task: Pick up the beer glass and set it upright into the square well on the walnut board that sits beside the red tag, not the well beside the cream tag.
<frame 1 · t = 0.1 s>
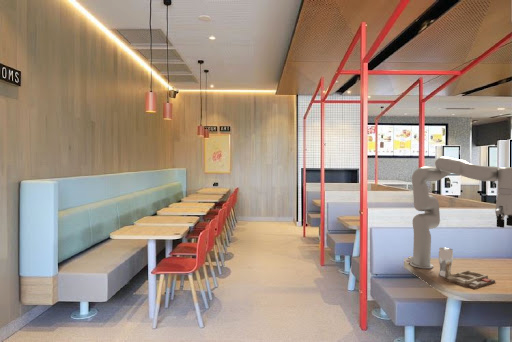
hand: (505, 226, 180), 31 cm above the table, tool pointing down, fingers open, 9 cm apart
beer glass: (445, 276, 200), on the table
tag board: (469, 281, 191), on the table
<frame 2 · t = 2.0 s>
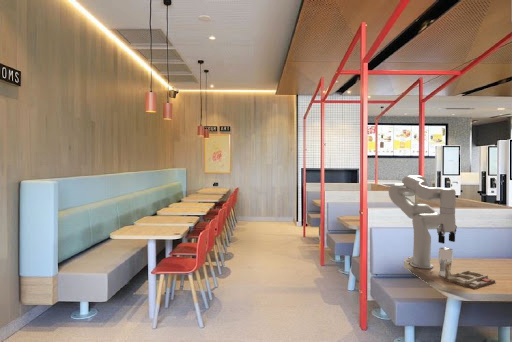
hand: (446, 242, 200), 19 cm above the table, tool pointing down, fingers open, 9 cm apart
nothing on the table moved.
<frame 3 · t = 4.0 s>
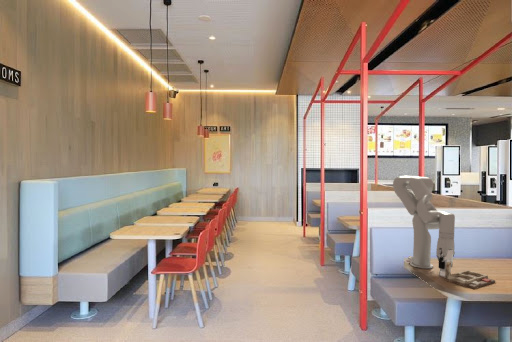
hand: (445, 267, 200), 5 cm above the table, tool pointing down, fingers closed on beer glass, 6 cm apart
beer glass: (445, 276, 200), on the table, touching gripper
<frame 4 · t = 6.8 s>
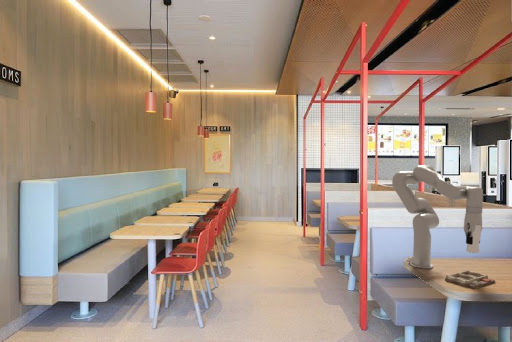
hand: (472, 243, 195), 19 cm above the table, tool pointing down, fingers closed on beer glass, 6 cm apart
beer glass: (472, 252, 195), point 15 cm above the table, touching gripper
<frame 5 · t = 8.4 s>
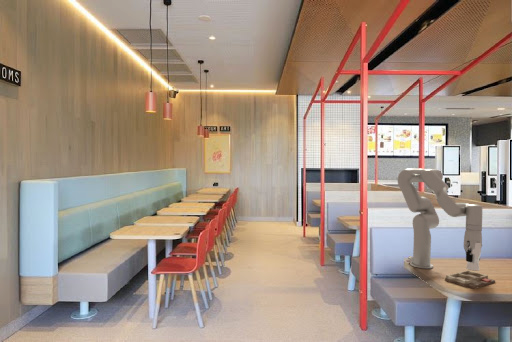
hand: (472, 260, 195), 10 cm above the table, tool pointing down, fingers closed on beer glass, 6 cm apart
beer glass: (472, 269, 195), point 5 cm above the table, touching gripper
when the fingers open (7 cm above the table, at t = 9.9 s): beer glass drops 1 cm, resting on tag board.
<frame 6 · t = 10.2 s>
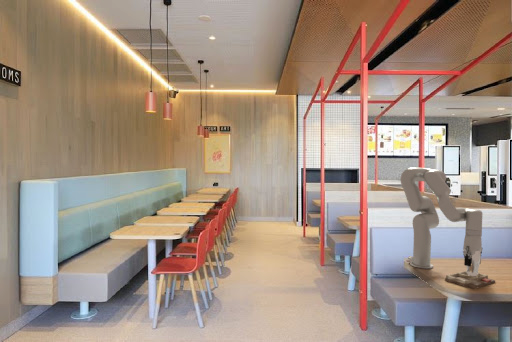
hand: (472, 264, 195), 8 cm above the table, tool pointing down, fingers open, 9 cm apart
beer glass: (472, 277, 196), point 1 cm above the table, touching tag board
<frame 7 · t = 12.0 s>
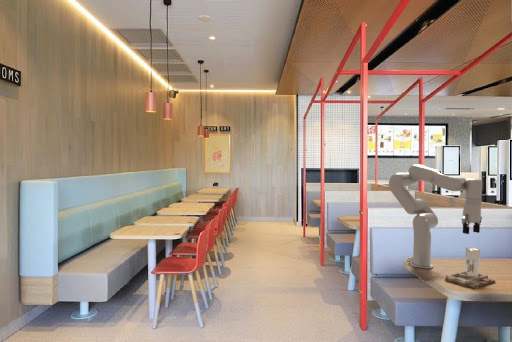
hand: (471, 232, 198), 24 cm above the table, tool pointing down, fingers open, 9 cm apart
nothing on the table moved.
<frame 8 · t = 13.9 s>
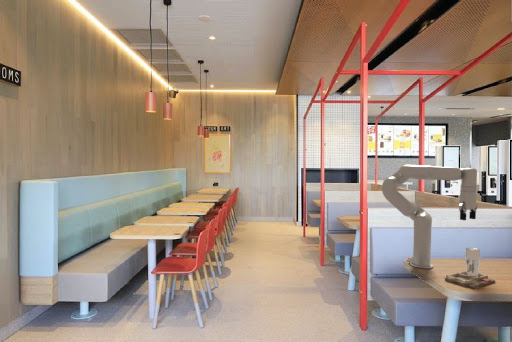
hand: (467, 219, 208), 30 cm above the table, tool pointing down, fingers open, 9 cm apart
nothing on the table moved.
at the end: beer glass 0.4 cm from the target spot on the tag board, point 1.0 cm above the tag board's base; beer glass tilted 0°; the gripper is holding nothing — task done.
